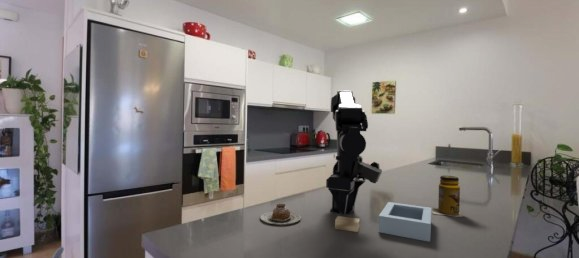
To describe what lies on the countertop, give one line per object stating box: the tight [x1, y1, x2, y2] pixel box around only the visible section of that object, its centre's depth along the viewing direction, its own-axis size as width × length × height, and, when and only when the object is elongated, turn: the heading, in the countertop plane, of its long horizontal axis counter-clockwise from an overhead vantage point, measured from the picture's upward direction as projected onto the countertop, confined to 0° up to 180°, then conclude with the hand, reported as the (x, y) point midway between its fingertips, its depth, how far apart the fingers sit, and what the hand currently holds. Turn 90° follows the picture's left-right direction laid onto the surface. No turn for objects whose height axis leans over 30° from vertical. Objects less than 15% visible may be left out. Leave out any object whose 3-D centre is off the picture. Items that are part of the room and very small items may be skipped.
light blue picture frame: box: [378, 201, 432, 243], centre depth 76 cm, size 12×16×4 cm
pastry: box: [259, 203, 302, 226], centre depth 81 cm, size 12×12×5 cm
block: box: [334, 215, 361, 233], centre depth 75 cm, size 6×4×2 cm, turn 70°
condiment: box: [429, 175, 464, 218], centre depth 91 cm, size 7×8×12 cm
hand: (347, 209), depth 75 cm, fingers open, 9 cm apart
